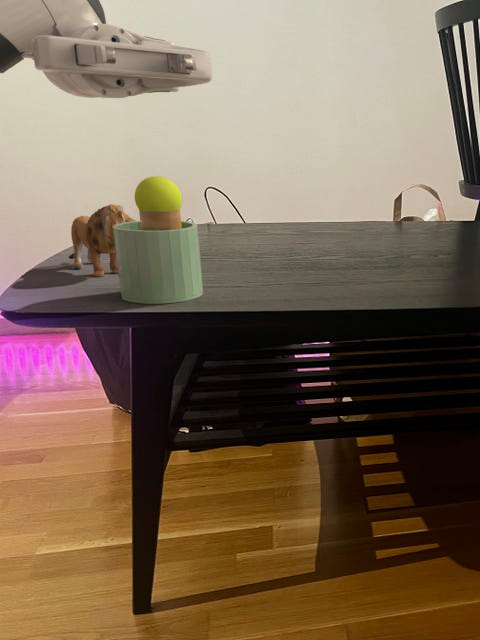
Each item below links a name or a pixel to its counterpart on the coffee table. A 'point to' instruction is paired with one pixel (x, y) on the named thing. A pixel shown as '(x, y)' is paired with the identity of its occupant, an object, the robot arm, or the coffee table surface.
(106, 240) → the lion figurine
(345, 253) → the coffee table surface
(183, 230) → the green faceted pot
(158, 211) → the ball peg
